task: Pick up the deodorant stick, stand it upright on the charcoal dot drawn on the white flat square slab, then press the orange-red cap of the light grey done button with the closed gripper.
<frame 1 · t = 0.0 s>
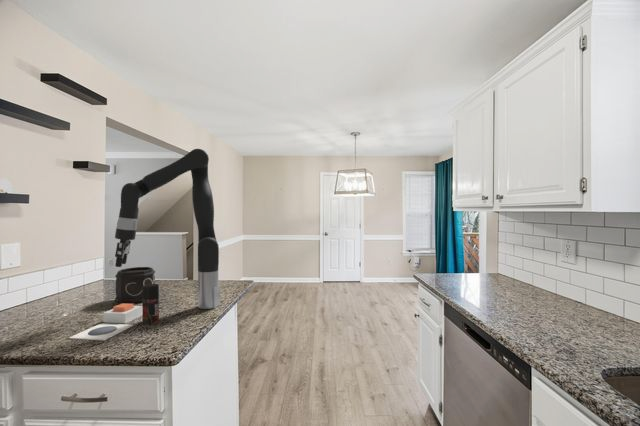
hand: (120, 265, 133), 22 cm above the worktop, tool pointing down, fingers open, 8 cm apart
button housing: (123, 318, 130), on the worktop
done button: (123, 308, 130), point 4 cm above the worktop, slide at 0.0 cm
deodorant: (150, 322, 126), on the worktop
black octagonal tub: (136, 299, 158), on the worktop
white flat square slab: (102, 331, 116), on the worktop
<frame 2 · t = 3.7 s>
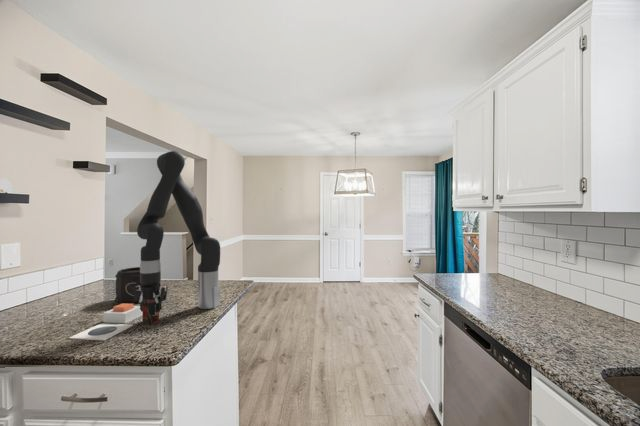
hand: (150, 311, 126), 4 cm above the worktop, tool pointing down, fingers closed on deodorant, 6 cm apart
deodorant: (150, 322, 126), on the worktop, touching gripper
everything else where it was.
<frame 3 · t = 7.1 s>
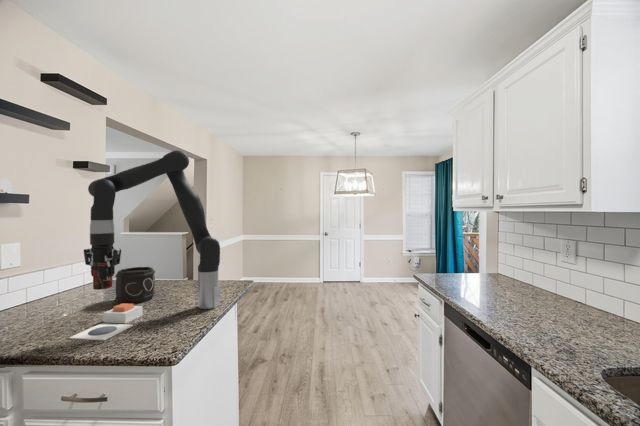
hand: (102, 276, 116), 21 cm above the worktop, tool pointing down, fingers closed on deodorant, 6 cm apart
deodorant: (102, 288, 116), point 17 cm above the worktop, touching gripper
everything else where it was.
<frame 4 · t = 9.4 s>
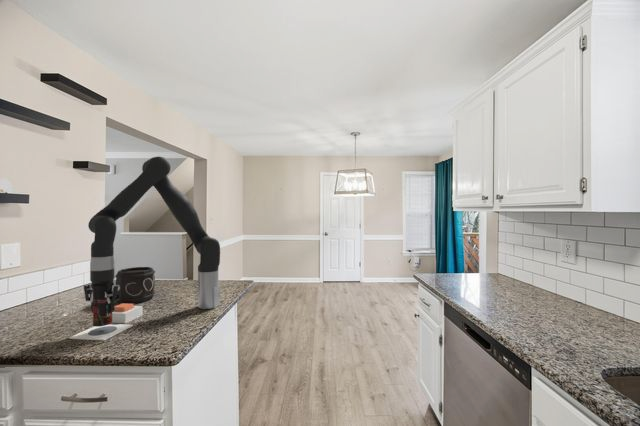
hand: (102, 312, 116), 8 cm above the worktop, tool pointing down, fingers closed on deodorant, 6 cm apart
deodorant: (102, 324, 116), point 3 cm above the worktop, touching gripper
everything else where it was.
when the fingers open (6 cm above the worktop, at t = 10.8 s): deodorant stays where it is, resting on white flat square slab.
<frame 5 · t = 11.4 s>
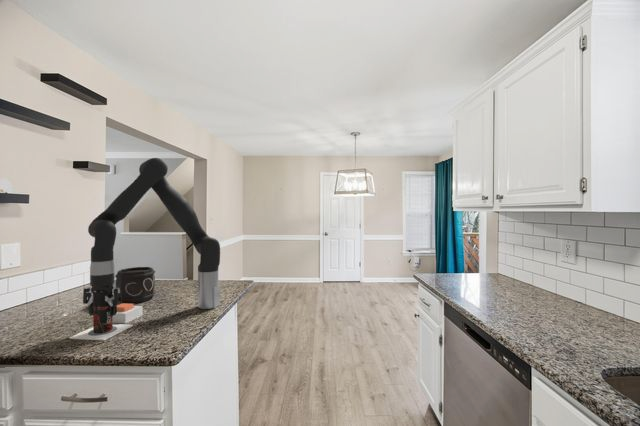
hand: (102, 315, 116), 6 cm above the worktop, tool pointing down, fingers open, 8 cm apart
deodorant: (103, 330, 116), resting on white flat square slab
everything else where it was.
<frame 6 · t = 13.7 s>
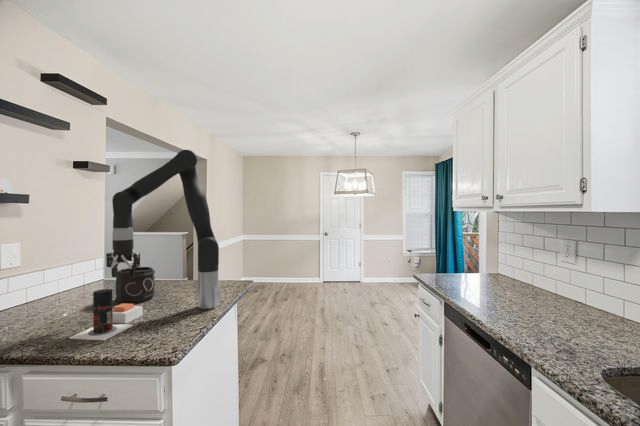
hand: (123, 277, 130), 18 cm above the worktop, tool pointing down, fingers open, 7 cm apart
nothing on the worktop moved.
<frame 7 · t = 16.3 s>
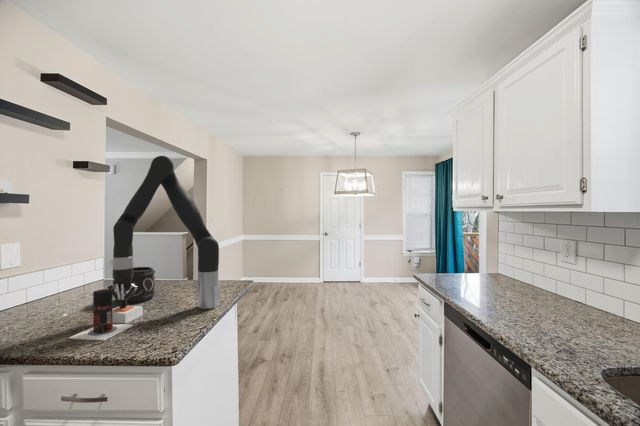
hand: (123, 307, 130), 5 cm above the worktop, tool pointing down, fingers closed
done button: (123, 311, 130), point 3 cm above the worktop, slide at 1.0 cm, touching gripper
everything else where it was.
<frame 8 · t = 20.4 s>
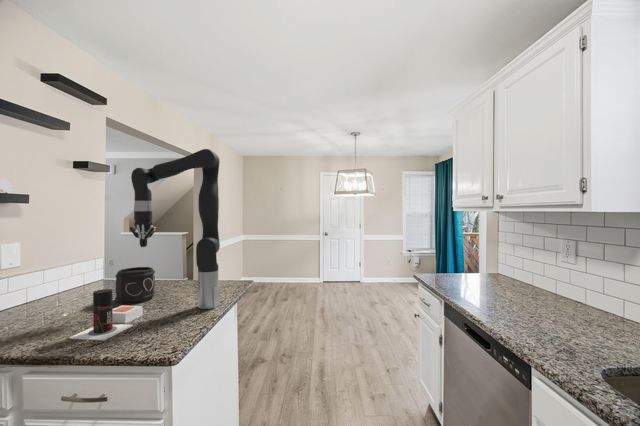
hand: (143, 246, 145), 29 cm above the worktop, tool pointing down, fingers closed
done button: (123, 312, 130), point 3 cm above the worktop, slide at 1.4 cm
everything else where it was.
at the end: deodorant inside the target area on the white flat square slab (0.1 cm from its centre), point 0.3 cm above the white flat square slab's base; deodorant tilted 0°; done button slide at 1.4 cm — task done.
